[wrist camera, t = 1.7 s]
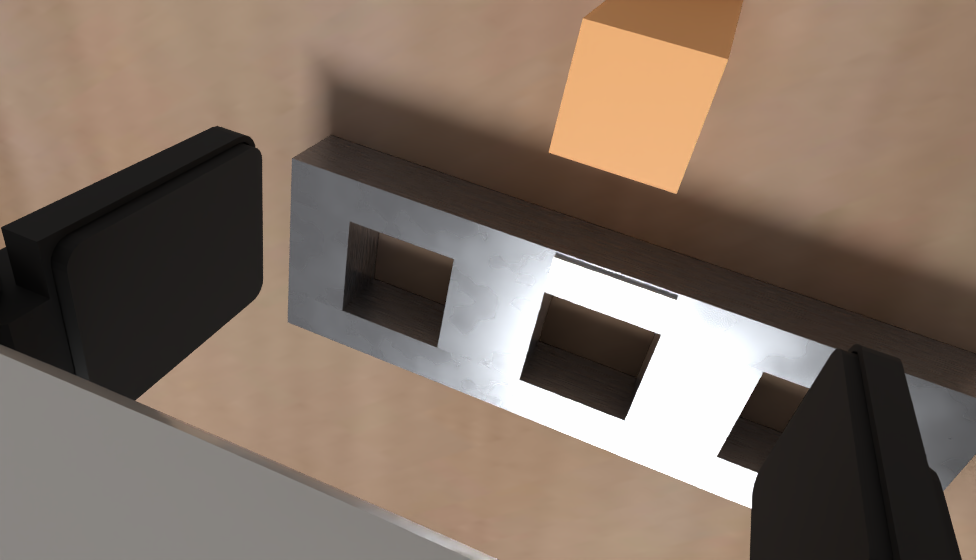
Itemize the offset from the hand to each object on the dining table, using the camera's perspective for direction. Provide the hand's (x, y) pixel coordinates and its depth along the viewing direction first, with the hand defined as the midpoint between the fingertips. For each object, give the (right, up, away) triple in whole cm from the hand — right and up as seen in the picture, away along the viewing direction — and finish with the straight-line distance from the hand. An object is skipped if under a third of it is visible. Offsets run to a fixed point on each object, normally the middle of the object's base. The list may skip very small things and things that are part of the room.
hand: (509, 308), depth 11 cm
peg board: (+5, -2, +24) cm, 25 cm away
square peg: (+7, +10, +17) cm, 21 cm away
